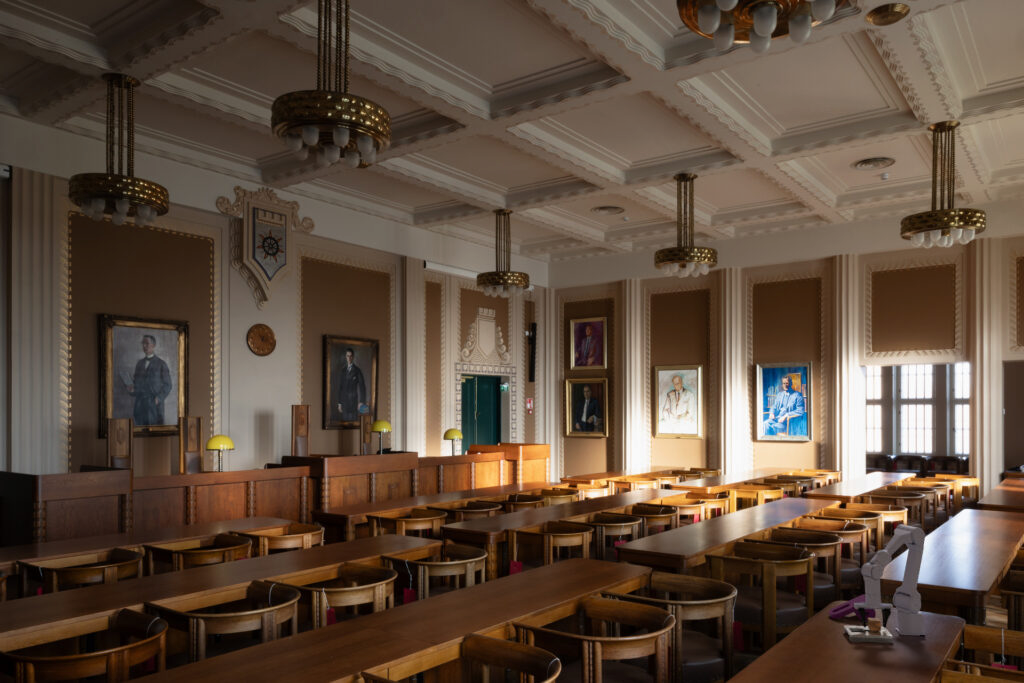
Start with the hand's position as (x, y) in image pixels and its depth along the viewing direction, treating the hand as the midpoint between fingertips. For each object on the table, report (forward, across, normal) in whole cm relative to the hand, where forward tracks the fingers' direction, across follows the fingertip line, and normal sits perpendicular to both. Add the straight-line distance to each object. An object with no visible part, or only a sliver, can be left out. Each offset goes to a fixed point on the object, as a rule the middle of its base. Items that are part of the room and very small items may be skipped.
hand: (874, 626), depth 321 cm
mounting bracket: (+5, +3, -28) cm, 28 cm away
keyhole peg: (+5, 0, 0) cm, 5 cm away
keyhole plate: (+5, +3, 0) cm, 5 cm away
